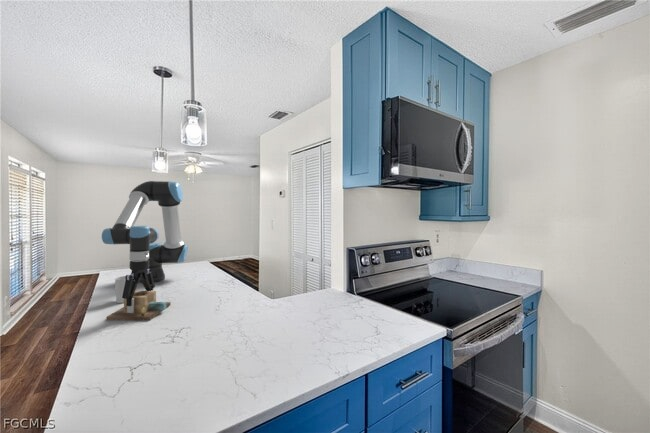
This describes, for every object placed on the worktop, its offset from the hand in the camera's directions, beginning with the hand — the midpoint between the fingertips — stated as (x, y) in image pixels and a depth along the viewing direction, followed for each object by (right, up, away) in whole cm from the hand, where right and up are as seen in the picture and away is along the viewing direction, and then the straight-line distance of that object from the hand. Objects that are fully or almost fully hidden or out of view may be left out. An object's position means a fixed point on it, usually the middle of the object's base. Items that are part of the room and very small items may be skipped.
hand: (139, 308), depth 130 cm
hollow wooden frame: (+4, 0, 0) cm, 4 cm away
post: (0, 0, 0) cm, 1 cm away
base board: (0, -2, 0) cm, 2 cm away
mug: (-18, -1, +14) cm, 23 cm away
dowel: (+6, -1, -7) cm, 9 cm away
